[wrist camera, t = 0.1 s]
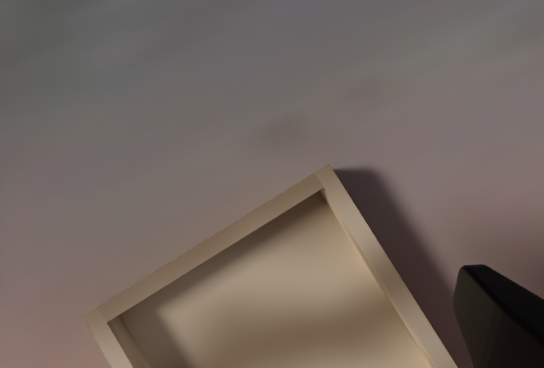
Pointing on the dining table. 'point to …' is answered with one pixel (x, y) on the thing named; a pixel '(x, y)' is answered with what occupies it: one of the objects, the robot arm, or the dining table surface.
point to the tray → (275, 296)
